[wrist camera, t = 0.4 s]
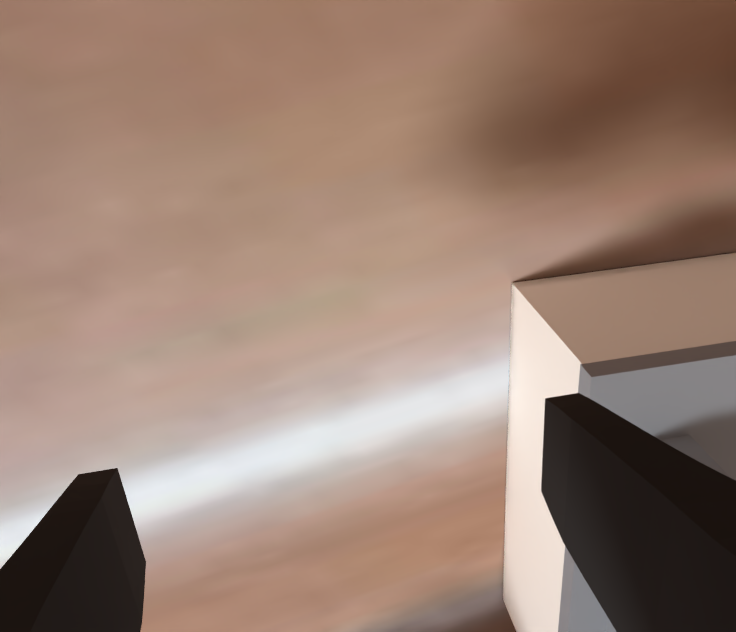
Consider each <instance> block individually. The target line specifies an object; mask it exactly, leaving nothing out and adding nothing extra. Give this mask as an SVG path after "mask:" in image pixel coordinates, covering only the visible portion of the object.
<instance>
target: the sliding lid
mask: <svg viewBox="0 0 736 632" xmlns="http://www.w3.org/2000/svg"><path fill="white" fill-rule="evenodd" d="M578 393H580V394H582V395H584V396H586V397H588V398H590V399H591V400H593V401H595V402H597V403H598V404H600V405H602V406H604V407H605V408H607V409H609V410H610V411H612V412H614V413H615V414H617V415H619V416H620V417H622V418H624V419H625V420H627V421H629V422H631V423H632V424H634V425H636V426H637V427H639V428H641V429H642V430H644V431H646V432H647V433H649V434H651V435H653V436H654V437H656V438H658V439H659V440H661V441H663V442H665V443H666V444H668V445H670V446H672V447H673V448H675V449H677V450H679V451H681V452H682V453H684V454H686V455H688V456H690V457H691V458H693V459H695V460H697V461H699V462H701V463H703V464H704V465H706V466H708V467H710V468H712V469H714V470H716V471H718V472H720V473H722V474H724V475H726V476H728V477H730V478H732V479H734V480H736V341H732V342H725V343H719V344H712V345H705V346H699V347H692V348H685V349H679V350H672V351H665V352H659V353H652V354H645V355H639V356H632V357H625V358H619V359H612V360H606V361H599V362H592V363H586V364H580V375H579V386H578ZM558 632H616V630H615V628H614V627H613V625H612V623H611V622H610V620H609V618H608V617H607V615H606V614H605V612H604V610H603V609H602V607H601V605H600V604H599V602H598V600H597V599H596V597H595V595H594V594H593V592H592V590H591V589H590V587H589V585H588V584H587V582H586V580H585V579H584V577H583V575H582V574H581V572H580V570H579V568H578V567H577V565H576V563H575V562H574V560H573V558H572V557H571V555H570V553H569V551H568V550H567V548H566V546H565V554H564V565H563V577H562V589H561V601H560V613H559V625H558Z"/></svg>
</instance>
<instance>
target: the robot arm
mask: <svg viewBox="0 0 736 632" xmlns="http://www.w3.org/2000/svg"><path fill="white" fill-rule="evenodd" d="M541 492H542V495H543V497H544V499H545V502H546V504H547V507H548V509H549V511H550V514H551V516H552V519H553V521H554V523H555V525H556V527H557V530H558V532H559V534H560V536H561V539H562V541H563V543H564V545H565V546H566V548H567V550H568V551H569V553H570V555H571V557H572V558H573V560H574V562H575V563H576V565H577V567H578V568H579V570H580V572H581V574H582V575H583V577H584V579H585V580H586V582H587V584H588V585H589V587H590V589H591V590H592V592H593V594H594V595H595V597H596V599H597V600H598V602H599V604H600V605H601V607H602V609H603V610H604V612H605V614H606V615H607V617H608V618H609V620H610V622H611V623H612V625H613V627H614V628H615V630H616V632H736V480H734V479H732V478H730V477H728V476H726V475H724V474H722V473H720V472H718V471H716V470H714V469H712V468H710V467H708V466H706V465H704V464H703V463H701V462H699V461H697V460H695V459H693V458H691V457H690V456H688V455H686V454H684V453H682V452H681V451H679V450H677V449H675V448H673V447H672V446H670V445H668V444H666V443H665V442H663V441H661V440H659V439H658V438H656V437H654V436H653V435H651V434H649V433H647V432H646V431H644V430H642V429H641V428H639V427H637V426H636V425H634V424H632V423H631V422H629V421H627V420H625V419H624V418H622V417H620V416H619V415H617V414H615V413H614V412H612V411H610V410H609V409H607V408H605V407H604V406H602V405H600V404H598V403H597V402H595V401H593V400H591V399H590V398H588V397H586V396H584V395H582V394H580V393H575V394H569V395H563V396H556V397H550V398H545V412H544V435H543V457H542V480H541ZM145 566H146V561H145V558H144V554H143V551H142V548H141V544H140V541H139V538H138V534H137V531H136V528H135V525H134V521H133V518H132V515H131V511H130V508H129V505H128V502H127V498H126V495H125V492H124V488H123V485H122V482H121V479H120V475H119V472H118V469H117V468H115V469H109V470H103V471H97V472H91V473H85V474H79V475H78V476H77V477H76V478H75V479H74V480H73V482H72V483H71V484H70V485H69V486H68V488H67V489H66V490H65V491H64V493H63V494H62V495H61V496H60V497H59V499H58V500H57V501H56V502H55V504H54V505H53V506H52V507H51V509H50V510H49V511H48V512H47V513H46V515H45V516H44V517H43V518H42V520H41V521H40V522H39V523H38V525H37V526H36V527H35V528H34V530H33V531H32V532H31V533H30V534H29V536H28V537H27V538H26V539H25V541H24V542H23V543H22V544H21V545H20V546H19V548H18V549H17V550H16V551H15V552H14V554H13V555H12V556H11V557H10V558H9V560H8V561H7V562H6V563H5V564H4V565H3V567H2V568H1V569H0V632H140V630H141V624H142V614H143V601H144V585H145Z"/></svg>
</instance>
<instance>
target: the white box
mask: <svg viewBox="0 0 736 632" xmlns="http://www.w3.org/2000/svg"><path fill="white" fill-rule="evenodd" d="M732 341H736V253H730V254H723V255H715V256H708V257H700V258H693V259H685V260H678V261H671V262H663V263H656V264H648V265H641V266H633V267H626V268H619V269H611V270H604V271H596V272H589V273H581V274H574V275H567V276H559V277H552V278H544V279H537V280H529V281H522V282H515V283H512V299H511V333H510V368H509V402H508V436H507V470H506V504H505V539H504V573H503V601H504V603H505V606H506V608H507V610H508V613H509V615H510V618H511V620H512V622H513V625H514V627H515V630H516V632H558V625H559V613H560V601H561V589H562V577H563V565H564V554H565V545H564V543H563V541H562V539H561V536H560V534H559V532H558V530H557V527H556V525H555V523H554V521H553V519H552V516H551V514H550V511H549V509H548V507H547V504H546V502H545V499H544V497H543V495H542V492H541V480H542V457H543V435H544V412H545V398H550V397H556V396H563V395H569V394H575V393H578V386H579V375H580V364H586V363H592V362H599V361H606V360H612V359H619V358H625V357H632V356H639V355H645V354H652V353H659V352H665V351H672V350H679V349H685V348H692V347H699V346H705V345H712V344H719V343H725V342H732Z"/></svg>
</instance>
